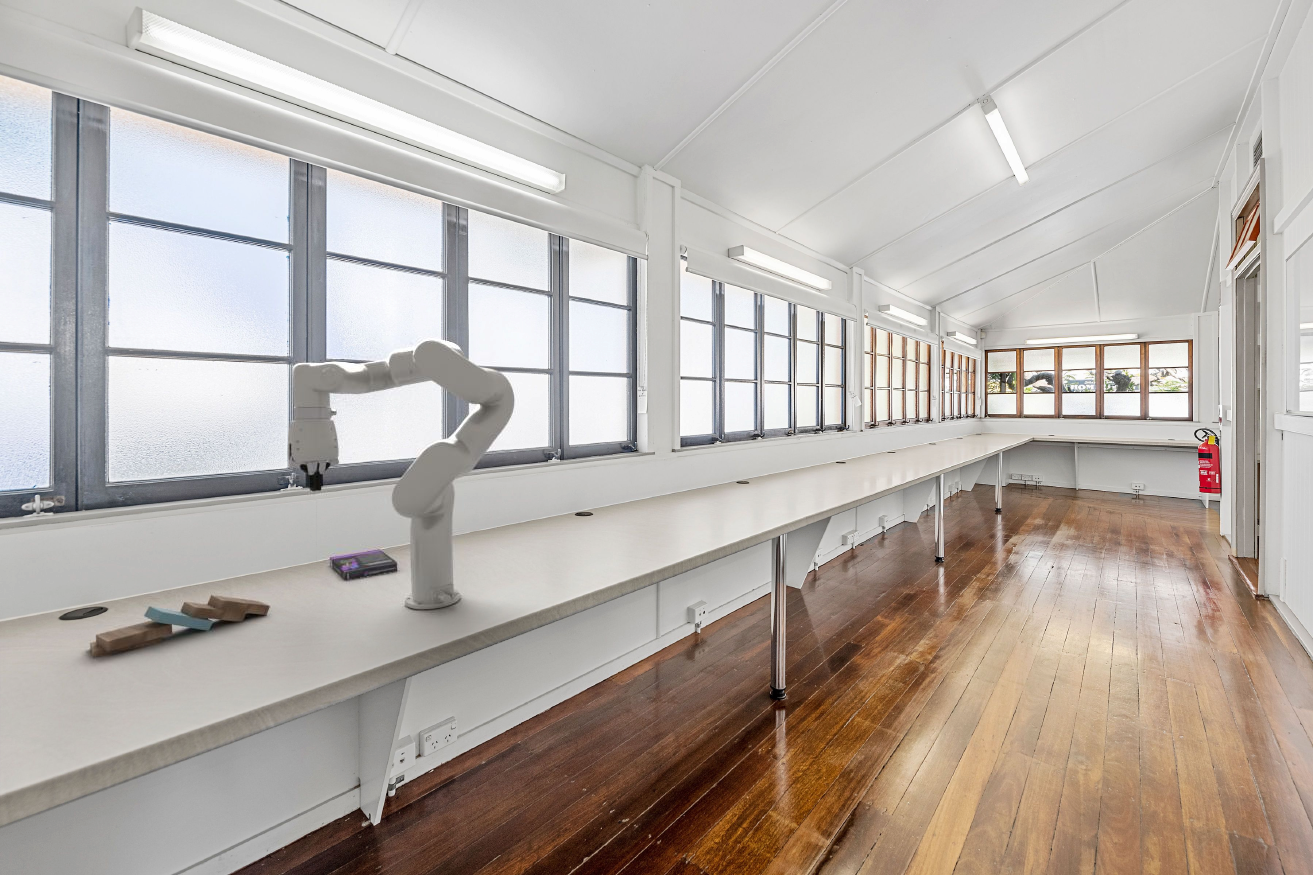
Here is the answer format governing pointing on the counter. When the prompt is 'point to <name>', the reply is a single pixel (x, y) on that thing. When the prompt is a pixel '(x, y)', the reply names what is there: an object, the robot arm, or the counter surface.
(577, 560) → the counter surface
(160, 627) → the domino
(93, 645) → the domino
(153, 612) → the domino
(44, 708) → the counter surface
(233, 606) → the domino
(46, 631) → the counter surface
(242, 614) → the domino
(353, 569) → the box
